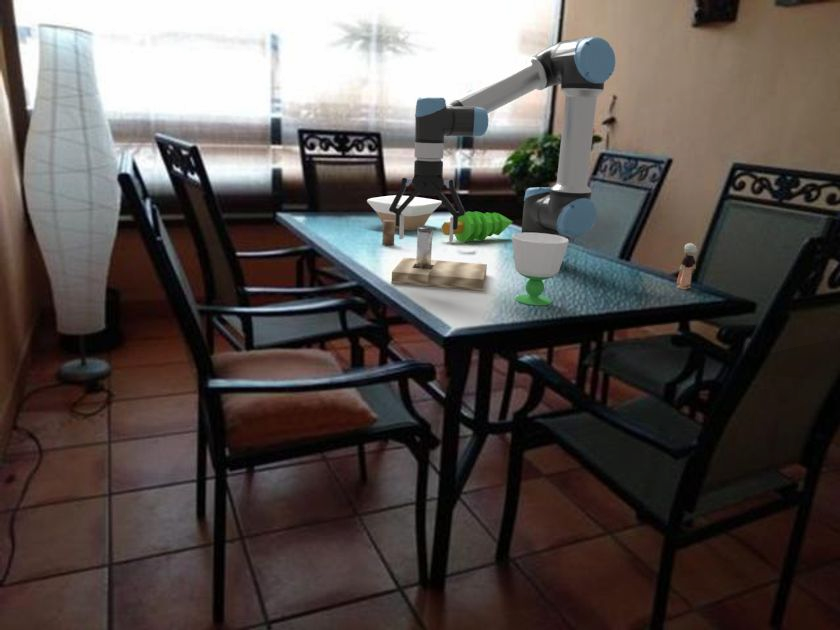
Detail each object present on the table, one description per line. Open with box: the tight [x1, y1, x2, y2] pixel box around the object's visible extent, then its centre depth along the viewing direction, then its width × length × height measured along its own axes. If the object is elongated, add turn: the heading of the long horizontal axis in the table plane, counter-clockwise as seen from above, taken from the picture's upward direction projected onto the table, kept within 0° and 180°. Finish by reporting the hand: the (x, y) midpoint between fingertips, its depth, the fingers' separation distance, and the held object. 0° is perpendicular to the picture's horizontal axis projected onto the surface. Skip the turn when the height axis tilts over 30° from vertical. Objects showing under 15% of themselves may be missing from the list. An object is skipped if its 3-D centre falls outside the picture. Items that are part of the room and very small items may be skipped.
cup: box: [511, 232, 570, 307], centre depth 156 cm, size 14×14×16 cm
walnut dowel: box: [382, 220, 396, 246], centre depth 215 cm, size 4×4×8 cm
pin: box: [415, 226, 434, 269], centre depth 173 cm, size 4×4×13 cm
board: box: [390, 257, 488, 292], centre depth 174 cm, size 24×18×3 cm
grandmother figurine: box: [676, 242, 698, 290], centre depth 176 cm, size 8×4×13 cm, turn 141°
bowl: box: [366, 194, 443, 231], centre depth 249 cm, size 24×25×11 cm
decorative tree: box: [441, 210, 514, 243], centre depth 230 cm, size 11×12×30 cm
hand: (426, 240), depth 172 cm, fingers open, 13 cm apart
